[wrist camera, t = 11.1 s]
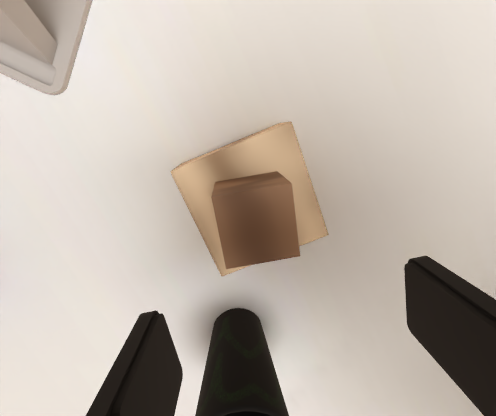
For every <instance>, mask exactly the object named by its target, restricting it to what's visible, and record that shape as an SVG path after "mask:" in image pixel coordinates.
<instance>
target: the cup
mask: <svg viewBox="0 0 496 416" xmlns="http://www.w3.org/2000/svg"><path fill="white" fill-rule="evenodd" d="M195 416H289V415H288V411H287V408H286V405H285V401H284V398H283V395H282V392H281V388H280V385H279V382H278V378H277V375H276V372H275V368H274V365H273V362H272V358H271V355H270V352H269V349H268V345H267V342H266V339H265V335H264V332H263V329H262V325H261V322H260V320H259V318H258V317H257V316H256V315H255V314H254V313H253V312H251V311H249V310H246V309H241V308H236V309H230V310H228V311H225V312H224V313H222V314H221V315H220V316H219V317H218V318H217V319H216V321H215V323H214V327H213V332H212V337H211V342H210V347H209V351H208V356H207V361H206V366H205V371H204V376H203V381H202V386H201V391H200V396H199V400H198V405H197V410H196V415H195Z"/></svg>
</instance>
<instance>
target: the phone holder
mask: <svg viewBox="0 0 496 416" xmlns="http://www.w3.org/2000/svg"><path fill="white" fill-rule="evenodd" d="M91 3H92V0H0V73H1V74H4V75H6V76H8V77H10V78H12V79H14V80H17V81H19V82H21V83H23V84H25V85H27V86H30V87H32V88H34V89H36V90H38V91H40V92H43V93H47V94H52V95H57V94H60V93H62V92H64V91H65V90H66V88H67V86H68V83H69V80H70V76H71V73H72V69H73V66H74V62H75V59H76V55H77V52H78V48H79V45H80V42H81V38H82V35H83V31H84V28H85V24H86V21H87V17H88V14H89V10H90V7H91Z"/></svg>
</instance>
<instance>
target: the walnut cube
mask: <svg viewBox="0 0 496 416" xmlns="http://www.w3.org/2000/svg"><path fill="white" fill-rule="evenodd" d="M211 198H212V203H213V208H214V213H215V218H216V223H217V227H218V232H219V237H220V242H221V247H222V252H223V257H224V262H225V266H226V269H230V268H236V267H242V266H247V265H253V264H259V263H264V262H270V261H275V260H281V259H287V258H292V257H298V256H300V251H299V242H298V233H297V224H296V215H295V206H294V197H293V189H292V183H291V182H290V181H289V180H287V179H286V178H285V177H284V176H283V175H281V174H280V173H279V172H278V171H276V172H270V173H264V174H258V175H252V176H246V177H241V178H235V179H229V180H223V181H217V182H215V184H214V188H213V192H212V196H211Z"/></svg>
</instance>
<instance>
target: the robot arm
mask: <svg viewBox="0 0 496 416" xmlns="http://www.w3.org/2000/svg"><path fill="white" fill-rule="evenodd" d="M405 289H406V311H407V325H408V328H409V330H410V331H411V333H412V334H413V335H414V336H415V338H416V339H417V340H418V341H419V342H420V343H421V344H422V346H423V347H424V348H425V349H426V350H427V351H428V352H429V354H430V355H431V356H432V357H433V358H434V359H435V360H436V361H437V363H438V364H439V365H440V366H441V367H442V368H443V369H444V371H445V372H446V373H447V374H448V375H449V376H450V377H451V379H452V380H453V381H454V382H455V383H456V384H457V385H458V386H459V388H460V389H461V390H462V391H463V392H464V393H465V394H466V396H467V397H468V398H469V399H470V400H471V401H472V402H473V404H474V405H475V406H476V407H477V408H478V409H479V410H480V412H481V413H482V414H483V415H484V416H496V300H495V299H494V298H492V297H491V296H489V295H487V294H486V293H484V292H483V291H481V290H480V289H478V288H476V287H475V286H473V285H472V284H470V283H469V282H467V281H466V280H464V279H462V278H461V277H459V276H458V275H456V274H455V273H453V272H451V271H450V270H448V269H447V268H445V267H444V266H442V265H440V264H439V263H437V262H436V261H434V260H433V259H431V258H430V257H428V256H422V257H417V258H412V259H409V261H408V263H407V264H405ZM182 376H183V373H182V367H181V364H180V361H179V358H178V355H177V352H176V349H175V347H174V344H173V341H172V338H171V335H170V332H169V329H168V326H167V323H166V320H165V318H164V315H163V314H159V313H158V311H152V312H147V313H142V314H140V316H139V318H138V319H137V321H136V323H135V325H134V327H133V329H132V331H131V333H130V334H129V336H128V338H127V340H126V342H125V344H124V346H123V347H122V349H121V351H120V353H119V355H118V357H117V359H116V360H115V362H114V364H113V366H112V368H111V370H110V372H109V373H108V375H107V377H106V379H105V381H104V383H103V385H102V387H101V388H100V390H99V392H98V394H97V396H96V398H95V400H94V401H93V403H92V405H91V407H90V409H89V411H88V413H87V415H86V416H174V414H175V409H176V405H177V400H178V396H179V391H180V387H181V382H182Z"/></svg>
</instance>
